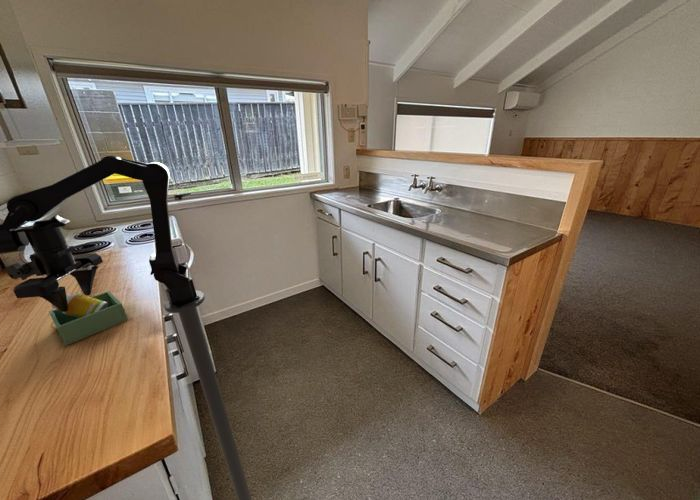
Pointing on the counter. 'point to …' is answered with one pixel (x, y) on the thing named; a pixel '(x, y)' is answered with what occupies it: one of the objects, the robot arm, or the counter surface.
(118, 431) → the counter surface
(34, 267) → the robot arm
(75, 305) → the supplement bottle
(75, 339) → the open box
